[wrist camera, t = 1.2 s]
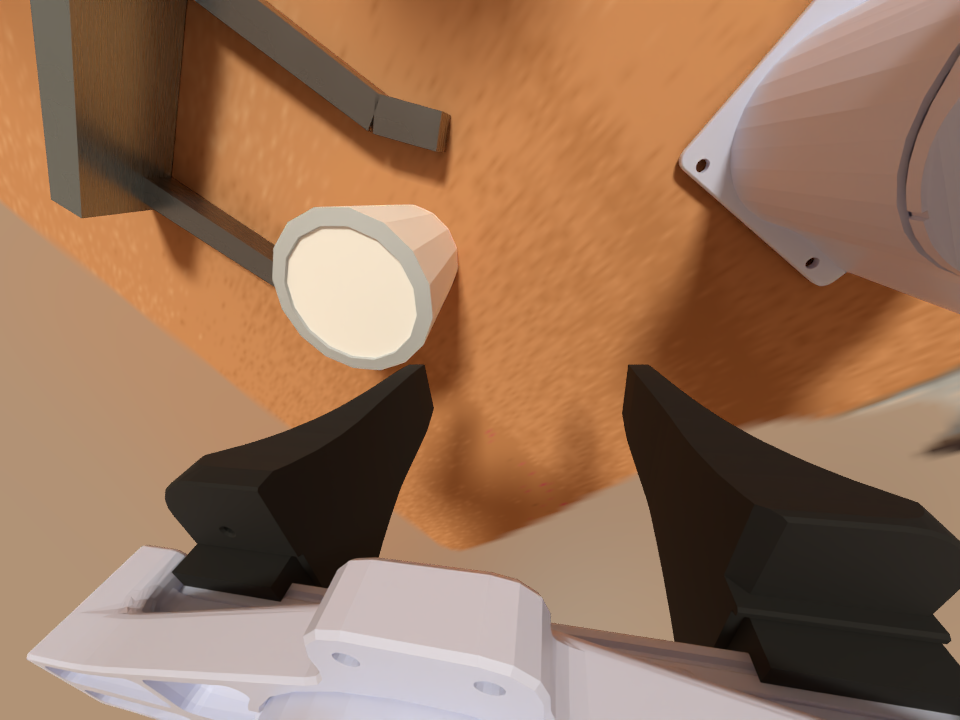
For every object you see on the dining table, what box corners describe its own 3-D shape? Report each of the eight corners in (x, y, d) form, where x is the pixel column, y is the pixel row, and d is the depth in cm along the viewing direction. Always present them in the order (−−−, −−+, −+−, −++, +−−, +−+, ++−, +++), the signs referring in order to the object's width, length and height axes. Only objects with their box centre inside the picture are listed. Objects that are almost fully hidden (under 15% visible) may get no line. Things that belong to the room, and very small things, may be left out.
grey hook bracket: (459, 122, 16) (430, 110, 12) (353, 334, 23) (313, 368, 19) (158, -117, 14) (6, -225, 10) (144, 199, 21) (51, 208, 17)
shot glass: (379, 319, 22) (315, 378, 16) (336, 206, 19) (236, 226, 13) (480, 304, 20) (451, 364, 14) (452, 177, 17) (398, 185, 11)
